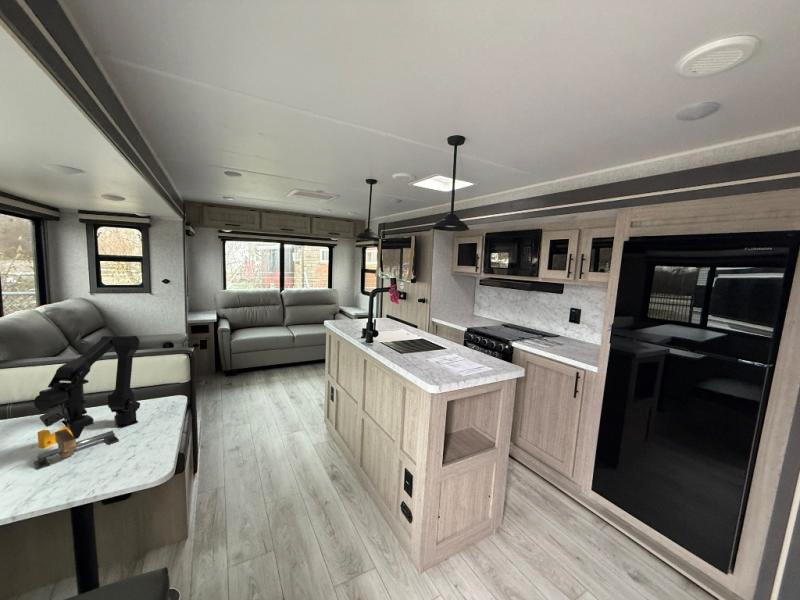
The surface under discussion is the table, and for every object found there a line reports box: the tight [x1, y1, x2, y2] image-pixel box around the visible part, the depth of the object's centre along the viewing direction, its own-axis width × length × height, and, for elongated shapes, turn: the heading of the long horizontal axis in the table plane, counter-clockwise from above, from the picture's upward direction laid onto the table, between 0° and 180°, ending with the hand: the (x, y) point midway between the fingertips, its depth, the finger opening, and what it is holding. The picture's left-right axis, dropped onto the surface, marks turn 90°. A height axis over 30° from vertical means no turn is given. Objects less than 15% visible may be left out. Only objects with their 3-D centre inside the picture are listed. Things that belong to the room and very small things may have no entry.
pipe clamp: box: [37, 425, 73, 449], centre depth 128 cm, size 12×4×6 cm, turn 173°
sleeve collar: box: [54, 429, 77, 459], centre depth 118 cm, size 3×12×7 cm, turn 57°
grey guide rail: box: [33, 430, 120, 470], centre depth 121 cm, size 22×6×4 cm, turn 147°
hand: (76, 438), depth 120 cm, fingers closed, pressing on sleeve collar
